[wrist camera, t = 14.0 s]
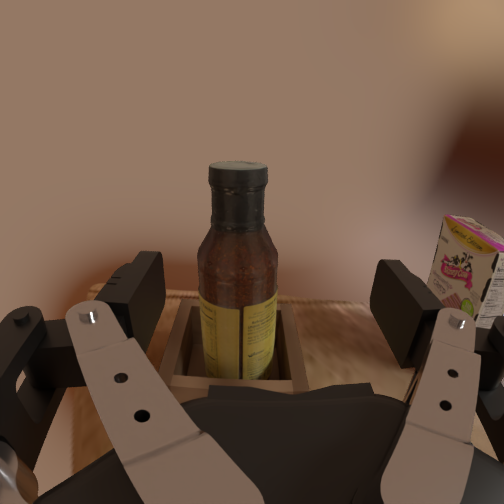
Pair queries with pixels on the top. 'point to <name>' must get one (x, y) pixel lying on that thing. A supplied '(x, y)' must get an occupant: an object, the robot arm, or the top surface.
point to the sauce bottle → (238, 276)
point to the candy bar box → (469, 269)
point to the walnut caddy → (197, 383)
